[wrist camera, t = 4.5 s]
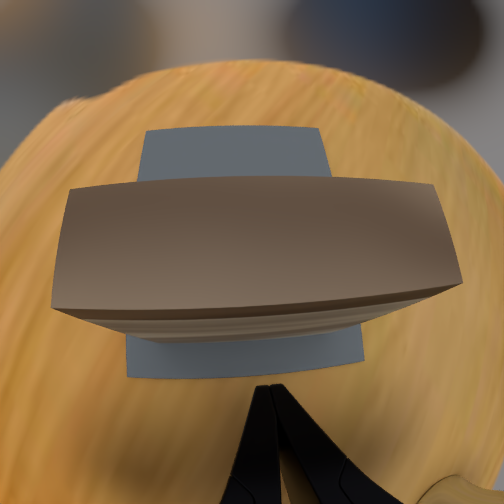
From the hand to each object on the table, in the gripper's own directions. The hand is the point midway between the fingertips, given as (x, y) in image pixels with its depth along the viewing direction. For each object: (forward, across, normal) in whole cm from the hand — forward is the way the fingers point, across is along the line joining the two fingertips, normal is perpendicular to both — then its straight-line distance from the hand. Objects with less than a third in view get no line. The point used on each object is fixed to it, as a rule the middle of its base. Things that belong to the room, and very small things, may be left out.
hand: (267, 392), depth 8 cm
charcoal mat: (+12, 0, -1) cm, 12 cm away
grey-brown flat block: (+8, 0, +3) cm, 8 cm away
